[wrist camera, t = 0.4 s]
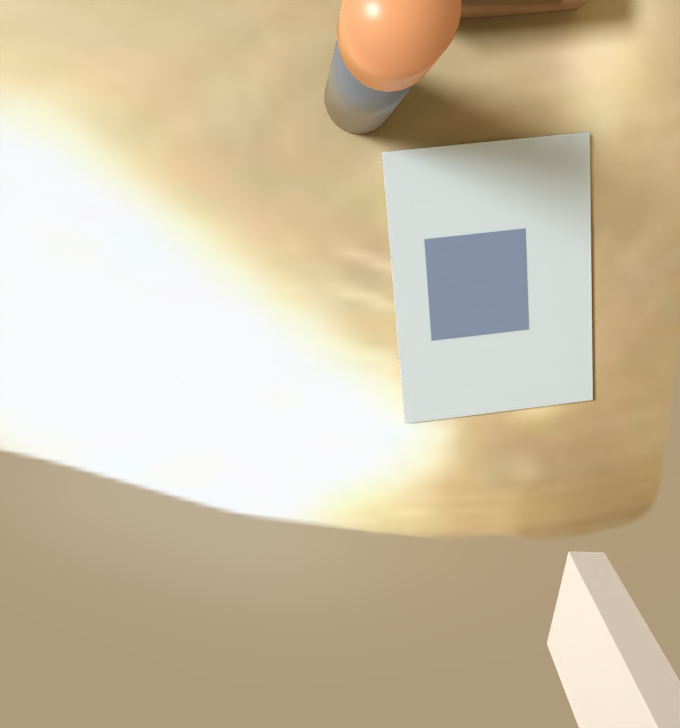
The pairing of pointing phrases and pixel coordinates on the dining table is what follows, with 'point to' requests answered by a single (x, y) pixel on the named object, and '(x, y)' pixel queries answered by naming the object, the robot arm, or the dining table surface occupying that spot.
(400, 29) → the marker
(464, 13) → the button housing
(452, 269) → the sketch pad
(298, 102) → the dining table surface
